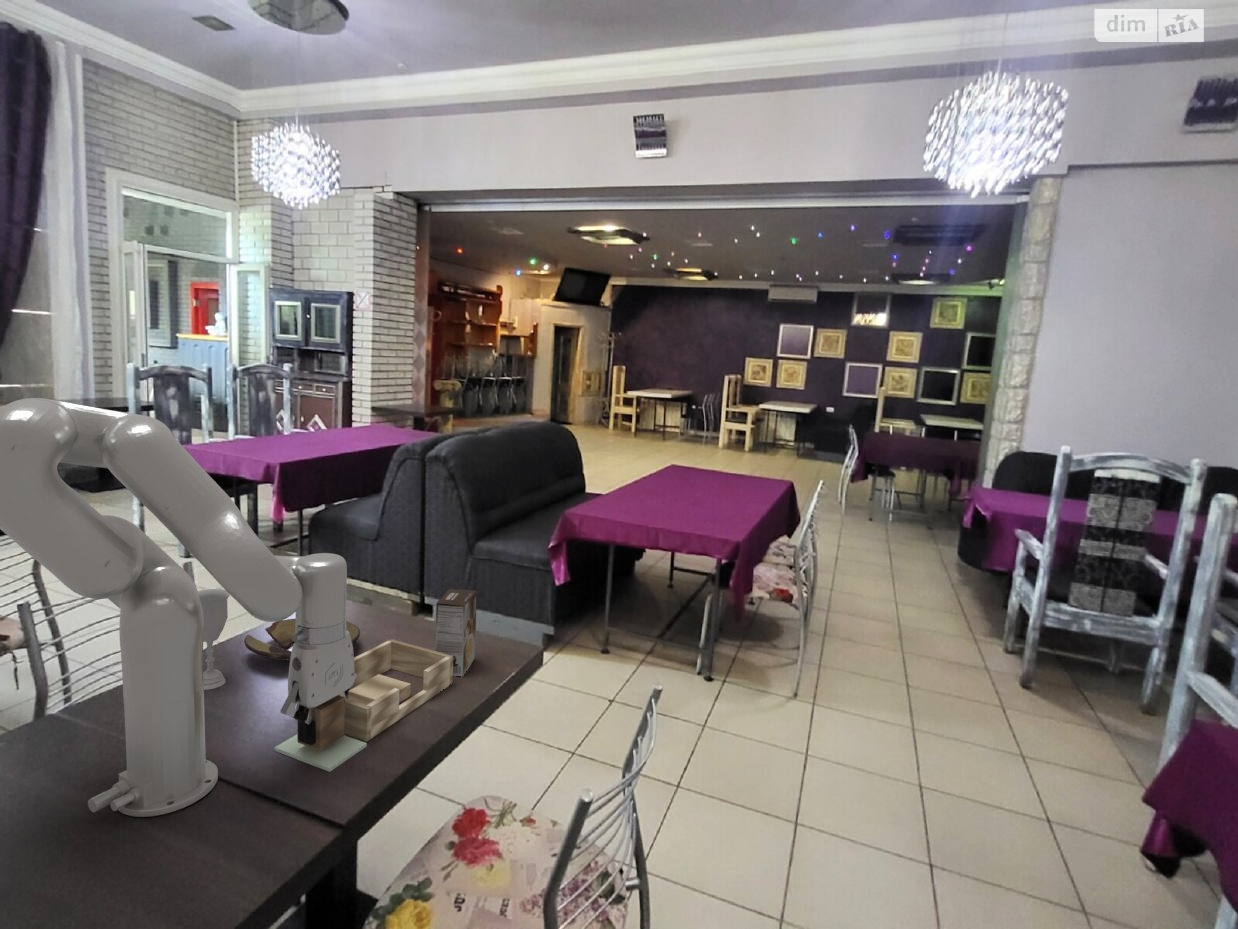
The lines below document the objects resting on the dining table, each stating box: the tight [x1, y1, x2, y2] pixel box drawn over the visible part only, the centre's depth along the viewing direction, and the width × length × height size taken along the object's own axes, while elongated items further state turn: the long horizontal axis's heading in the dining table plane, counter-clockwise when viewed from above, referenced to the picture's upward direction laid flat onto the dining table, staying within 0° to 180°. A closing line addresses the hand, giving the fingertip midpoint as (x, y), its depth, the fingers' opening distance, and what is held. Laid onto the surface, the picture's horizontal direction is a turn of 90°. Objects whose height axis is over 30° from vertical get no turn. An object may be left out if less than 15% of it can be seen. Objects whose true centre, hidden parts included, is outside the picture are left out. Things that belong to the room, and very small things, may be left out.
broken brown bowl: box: [243, 618, 361, 661], centre depth 145 cm, size 22×30×8 cm
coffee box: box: [434, 588, 478, 678], centre depth 140 cm, size 9×6×16 cm
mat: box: [273, 734, 368, 772], centre depth 109 cm, size 8×12×1 cm, turn 68°
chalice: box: [197, 588, 231, 691], centre depth 126 cm, size 7×7×18 cm
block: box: [296, 695, 345, 751], centre depth 108 cm, size 5×5×7 cm
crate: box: [344, 638, 454, 743], centre depth 126 cm, size 24×16×6 cm, turn 158°
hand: (320, 732), depth 109 cm, fingers closed on block, 4 cm apart
